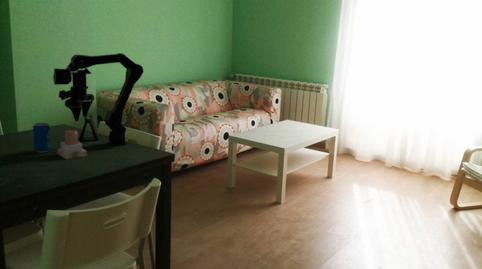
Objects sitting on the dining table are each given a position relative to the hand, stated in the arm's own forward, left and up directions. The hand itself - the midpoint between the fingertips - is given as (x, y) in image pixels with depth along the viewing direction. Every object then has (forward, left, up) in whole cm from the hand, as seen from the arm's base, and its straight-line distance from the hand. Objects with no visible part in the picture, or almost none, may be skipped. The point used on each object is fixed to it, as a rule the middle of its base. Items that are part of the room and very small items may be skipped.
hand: (80, 119), depth 197 cm
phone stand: (-9, -12, -13) cm, 20 cm away
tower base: (+8, +9, -14) cm, 18 cm away
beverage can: (+16, -3, -13) cm, 21 cm away
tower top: (+8, +9, -11) cm, 16 cm away
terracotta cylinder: (+8, +9, -8) cm, 14 cm away
